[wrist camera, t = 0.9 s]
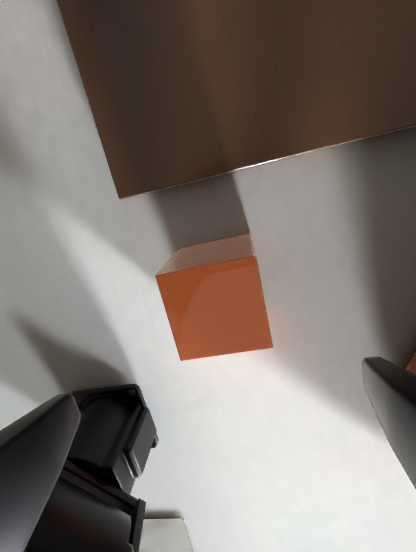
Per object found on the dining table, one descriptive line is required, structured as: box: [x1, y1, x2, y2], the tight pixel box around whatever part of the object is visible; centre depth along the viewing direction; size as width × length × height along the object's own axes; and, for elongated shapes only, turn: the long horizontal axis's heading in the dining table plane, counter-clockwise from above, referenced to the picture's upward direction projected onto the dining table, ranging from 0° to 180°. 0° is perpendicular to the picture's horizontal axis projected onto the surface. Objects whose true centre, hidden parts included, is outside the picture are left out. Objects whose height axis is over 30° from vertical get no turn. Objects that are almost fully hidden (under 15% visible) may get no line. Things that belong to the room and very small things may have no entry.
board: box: [57, 0, 416, 199], centre depth 15 cm, size 20×13×2 cm, turn 103°
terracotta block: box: [155, 233, 273, 361], centre depth 17 cm, size 5×5×6 cm
